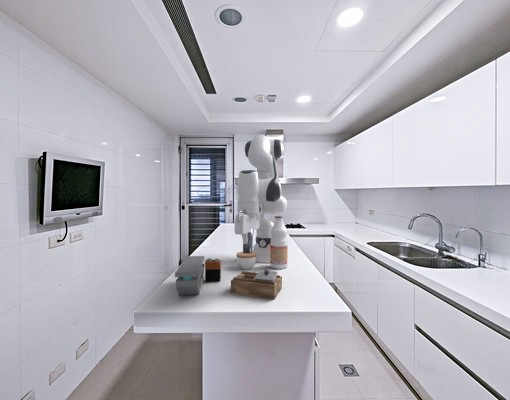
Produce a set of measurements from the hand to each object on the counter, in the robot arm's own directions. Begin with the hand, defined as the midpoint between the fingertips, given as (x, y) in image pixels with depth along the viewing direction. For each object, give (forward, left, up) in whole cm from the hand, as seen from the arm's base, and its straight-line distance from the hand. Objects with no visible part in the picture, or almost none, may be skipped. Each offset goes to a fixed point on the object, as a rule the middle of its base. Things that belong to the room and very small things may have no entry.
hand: (247, 242), depth 104 cm
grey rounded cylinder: (0, 0, -4) cm, 4 cm away
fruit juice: (-37, +4, -20) cm, 42 cm away
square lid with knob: (0, +8, -14) cm, 17 cm away
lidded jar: (-29, -12, -20) cm, 37 cm away
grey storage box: (+8, -22, -20) cm, 31 cm away
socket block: (0, +4, -20) cm, 20 cm away
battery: (-5, -19, -20) cm, 28 cm away
